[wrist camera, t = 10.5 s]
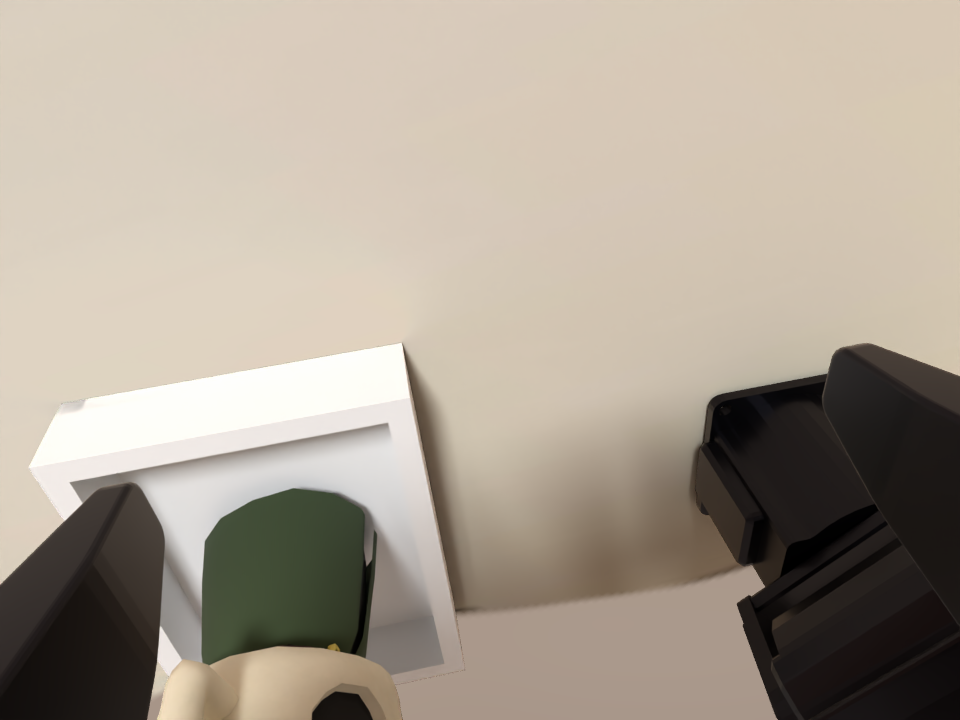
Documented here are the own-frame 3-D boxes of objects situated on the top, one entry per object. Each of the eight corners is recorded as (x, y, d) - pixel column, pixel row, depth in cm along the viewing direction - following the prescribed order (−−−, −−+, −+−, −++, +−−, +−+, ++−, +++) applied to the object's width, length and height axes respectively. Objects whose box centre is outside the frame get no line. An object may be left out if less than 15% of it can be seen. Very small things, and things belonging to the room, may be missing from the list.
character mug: (427, 585, 30) (478, 971, 20) (273, 637, 30) (241, 1046, 20) (320, 403, 24) (310, 834, 13) (125, 472, 24) (-39, 949, 13)
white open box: (401, 342, 23) (409, 397, 21) (455, 609, 32) (465, 670, 30) (61, 403, 22) (28, 468, 20) (212, 660, 31) (202, 727, 29)
